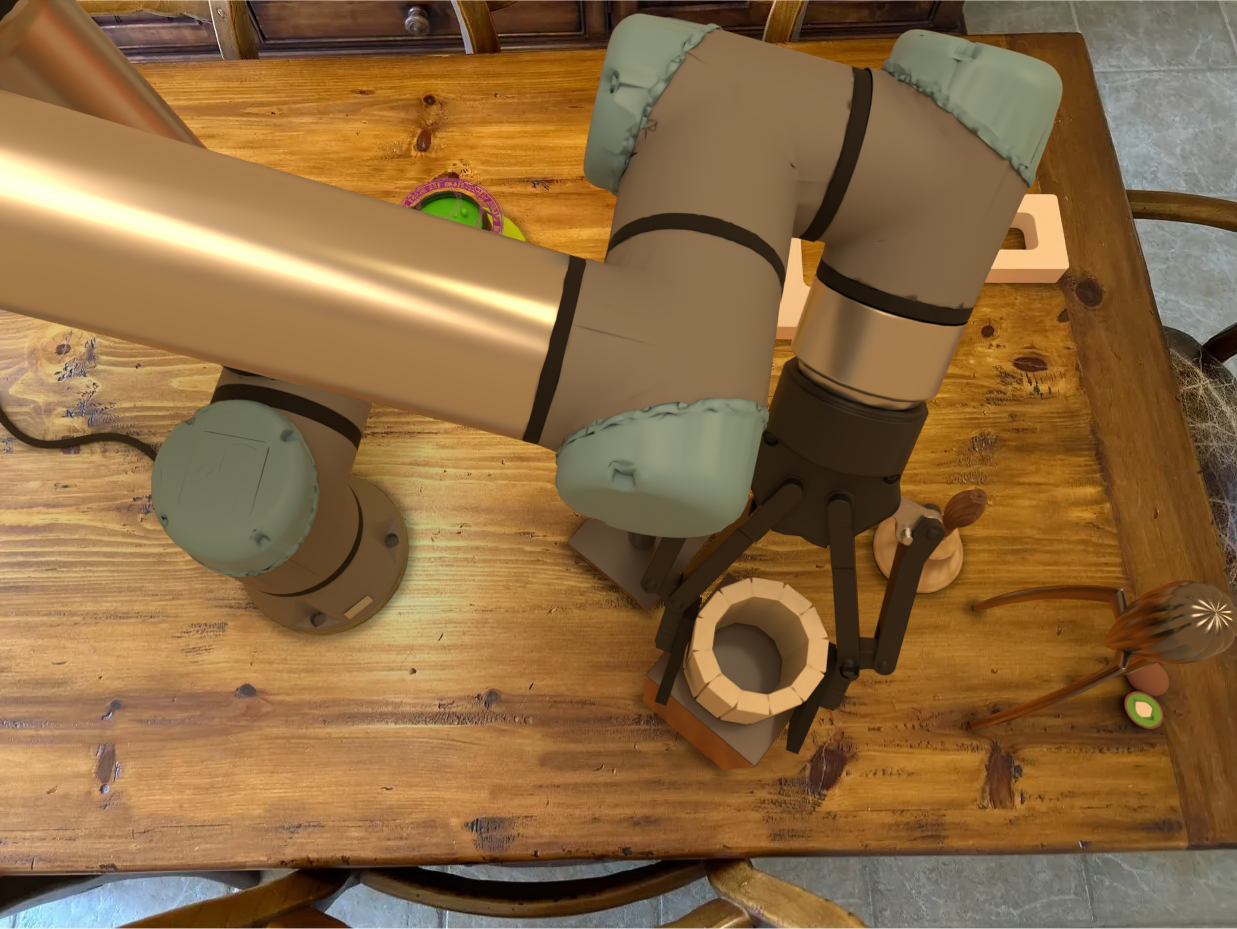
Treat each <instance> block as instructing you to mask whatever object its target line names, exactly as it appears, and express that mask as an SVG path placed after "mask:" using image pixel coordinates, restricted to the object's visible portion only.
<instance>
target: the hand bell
mask: <svg viewBox="0 0 1237 929" xmlns="http://www.w3.org/2000/svg"><path fill="white" fill-rule="evenodd" d="M987 501H988V494H987V492H986V490H984V489H983V488H980V487H979V488H978V487H977V488H974V489H965V490H962V491H959V492H957V493H956V494H955V495H953V496H952V497H951V498H950V499H949V500H948V501H947V503H946V505H945V506H944V509H943V513H942V519H943V525H944V531H945V536H944V539H943V540H942V542H941V543H940V544H939V545H938V547H937V548H936V549H935V551H934V552H933V553H932V554H931V556H930V557H929V558H928V559H927V561H926V562H925V563H924V566H923V570H922V574H921V577H920V581H919V585H918V588H917V592H916V594H930V593H936V592H938V591H940V590H943V589H945V588H947V587H948V586H949V585H950V584H952V582H954V580H955V579H956V578H957V576H958V575H959V573H960V571H961V569H962V566H963V561H964V546H963V543H962V540H961V536H960V535H961V534H960V532H959V529H962V528H965V527H969V526H971V525H973V524H974V523H976V522H977V521H978V520H979V519H980V518H981V517H982V516H983V514H984V512H985V509H986V504H987ZM895 523H896V520H895V519H894V518H893V517H892V516H891V517H890V518H888V519H886V520H884V521H882V522H881V523H879V524H878V526H877V528H876V529H875V533H874V536H873V541H872V543H873V544H872V549H873V556H874V559H875V562H876V564H877V566H878V569H879V571H880V572H881V573H882V574H883V576H885V578H886V579H887V580H888V579H889V575H890V571H891V567H892V564H893V560H894V556H895V552H896V548H897V544H898V540H897V539H896V536H895Z"/></svg>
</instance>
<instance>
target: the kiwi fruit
mask: <svg viewBox="0 0 1237 929" xmlns="http://www.w3.org/2000/svg"><path fill="white" fill-rule="evenodd" d="M1134 658H1135V657H1132V656H1130V659H1129V660H1131V659H1134ZM1125 676H1126V678H1127V680H1128V682H1129V683H1130V685H1131V686H1132V687H1133V688H1134V689H1135V690H1136V691H1131V692H1129V694H1127V695H1126V696H1125V697H1124V702H1123V705H1124V710H1125V712H1126V714H1127V716H1128V717H1129V719H1130V720H1131V721H1132V722H1134V723H1135V724H1136V725H1137V726H1139V727H1142V728H1144V729H1149V730H1154V729H1156V728H1159V727H1160V726H1161V725H1162V723H1163V722H1164V715H1165V714H1164V711H1163V708H1162V706H1161V705H1160V703H1159V701H1157V700H1156V698H1157V697H1160V696H1162V695H1164V694H1165V693H1166V691H1168V689H1169V687H1170V679H1169V676H1168V674H1167V672H1166V671H1165V668H1163V666H1162V665H1161V664H1160V663H1159V662H1158V663H1155V664H1153V665H1151V666H1148V667H1146V668H1143V669H1140V670H1138V671H1135V672H1132V673H1129V674H1126V675H1125Z"/></svg>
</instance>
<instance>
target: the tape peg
mask: <svg viewBox="0 0 1237 929" xmlns="http://www.w3.org/2000/svg"><path fill="white" fill-rule="evenodd" d="M715 535H716V533H714V534H710V535H706V536H699V537H689V538H687V539H686V541H685V543H684V545H683V547H682V548H681V550H680V552H679V554H678V556H677V558H676V560H675V562H674V564H673V566H672V567H671V568H672V569H674V570H675V571H676V572H679V571H681V572H682V571H683V570H684V569H685V568H686V567H687V566H688V565H689V564H690V563H691V562H692V561H693V560H694V559H695V558H696V557H697V556H698V555H699V553H700V552H701V551H702V550H703V549H704V548H705V547H706V546H707V545H708V544H709V543H710V542H711V541H710V540H712V538H713V537H714V536H715ZM660 539H661V537H660V536H651V535H645V534H639V533H634V532H629V531H625V530H621V529H617V528H614V527H611V526H608V525H607V524H606V523H605V522H603V521H601V520H598V519H593V518H588V517H587V519H586V520H585V521H584V522H583V524H581V525H580V527H579V528H578V529H577V530H576V532H574V533H573V535H572V536H571V537H570V538H569V539H568V540H567V542H566V544H567V548H569V549H570V550H571V551H572V552H574V553H575V554H576V555H577V556H578V557H580V558H581V559H582V560H583V561H584V562H586V563H587V564H588V565H589V566H591V567H592V568H593V569H594V570H595V571H597V572H598V573H599V574H600V575H602V576H603V577H604V578H605V579H606V580H608V581H609V582H610V583H612V585H613V586H615V587H616V588H617V589H619V590H620V591H621V592H622V593H623V594H624V595H626V596H627V597H628V598H629V599H631V600H632V601H633V602H635V604H636V605H638V606H639V607H641V608H642V609H643V610H644V611H645V612H647V613H648V614H651V613H652V612H653V610H654V609H655V608H656V606H657V605H658V604H659V603H660V602H661V600H662V598H661V597H660V596H658V595H657V594H656V593H654V594H650V593H646V592H645V591H644V590H643V589H642V588H641V585H640V583H641V579H642V577H643V575H644V572H645V570H646V568H647V566H648V563H649V561H650V559H651V557H652V555H653V553H654V551H655V549H656V547H657V545H658V543H659V541H660ZM681 572H680V573H681Z"/></svg>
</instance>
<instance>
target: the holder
mask: <svg viewBox="0 0 1237 929" xmlns="http://www.w3.org/2000/svg"><path fill="white" fill-rule="evenodd" d="M1010 228H1011V229H1013V228H1014V229H1018V230H1020V231H1021V232H1022V234H1023V238H1024V243H1025V244H1024V245H1025V249H1000V250H999V252H998V254H997V257H996V259H995V261H994V263H993V265H992V267H991V270H990V272H989V274H988V276H987V278H986V280H985V283H984V284H1056V283H1057V282H1058V281H1059V280H1060V278H1061V277H1062V276H1063V275H1064V274H1065V273H1066V272H1067V270H1068V269H1069V268H1070V263H1069V257H1068V250H1067V245H1066V240H1065V234H1064V228H1063V223H1062V217H1061V212H1060V206H1059V201H1058V196H1057V195H1055V194H1054V193H1053V194H1049V193H1045V194H1044V193H1043V194H1041V193H1034V194H1033V193H1032V194H1031V193H1026V194H1025V196H1024V198H1023V200H1022V202H1021V204H1020V207H1019V209H1018V211H1017V213H1016V215H1015V217H1014V220H1013V222H1012V224H1011V226H1010ZM1010 228H1009V229H1010ZM802 254H803V253H802V239H798V238H792V239H791V246H790V253H789V260H788V266H787V273H786V280H785V283H784V290H783V295H782V299H781V301H780V309H779V317H778V325H777V332H776V340H792V339H793V336H794V334H795V331H796V328H797V325H798V322H799V319H800V316H801V313H802V310H803V308H804V305H805V302H806V299H807V296H808V293H809V290H810V287H811V286H808V285H807V284H806V283H805V282H804V281H805V280H804V271H803V256H802Z"/></svg>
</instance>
